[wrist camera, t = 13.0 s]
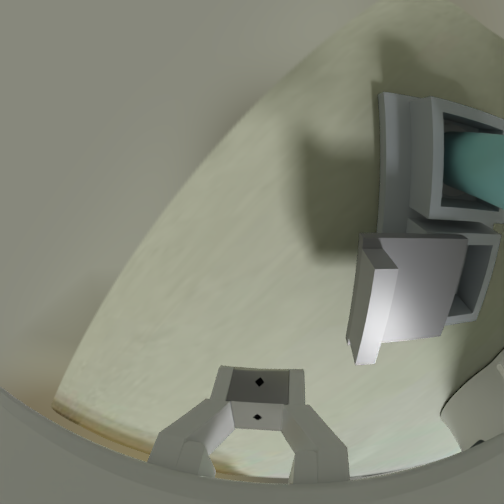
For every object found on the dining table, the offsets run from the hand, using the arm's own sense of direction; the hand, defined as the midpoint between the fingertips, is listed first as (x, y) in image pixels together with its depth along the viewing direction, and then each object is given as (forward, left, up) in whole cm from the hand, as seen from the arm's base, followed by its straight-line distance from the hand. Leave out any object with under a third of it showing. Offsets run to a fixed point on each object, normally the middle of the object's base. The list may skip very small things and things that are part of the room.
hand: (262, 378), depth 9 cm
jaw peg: (-13, -8, -10) cm, 18 cm away
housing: (-13, -4, -12) cm, 18 cm away
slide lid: (-8, 0, -7) cm, 11 cm away
